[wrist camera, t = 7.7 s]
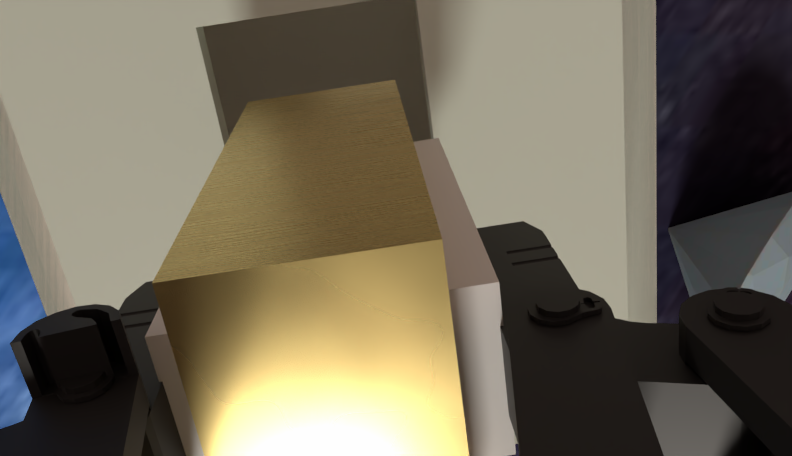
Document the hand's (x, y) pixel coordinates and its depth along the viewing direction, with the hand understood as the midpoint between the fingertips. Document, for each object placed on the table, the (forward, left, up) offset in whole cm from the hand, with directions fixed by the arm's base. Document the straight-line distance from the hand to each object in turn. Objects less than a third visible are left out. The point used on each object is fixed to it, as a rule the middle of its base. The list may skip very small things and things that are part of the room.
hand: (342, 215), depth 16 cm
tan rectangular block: (0, 0, 0) cm, 0 cm away
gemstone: (+15, -9, -13) cm, 22 cm away
